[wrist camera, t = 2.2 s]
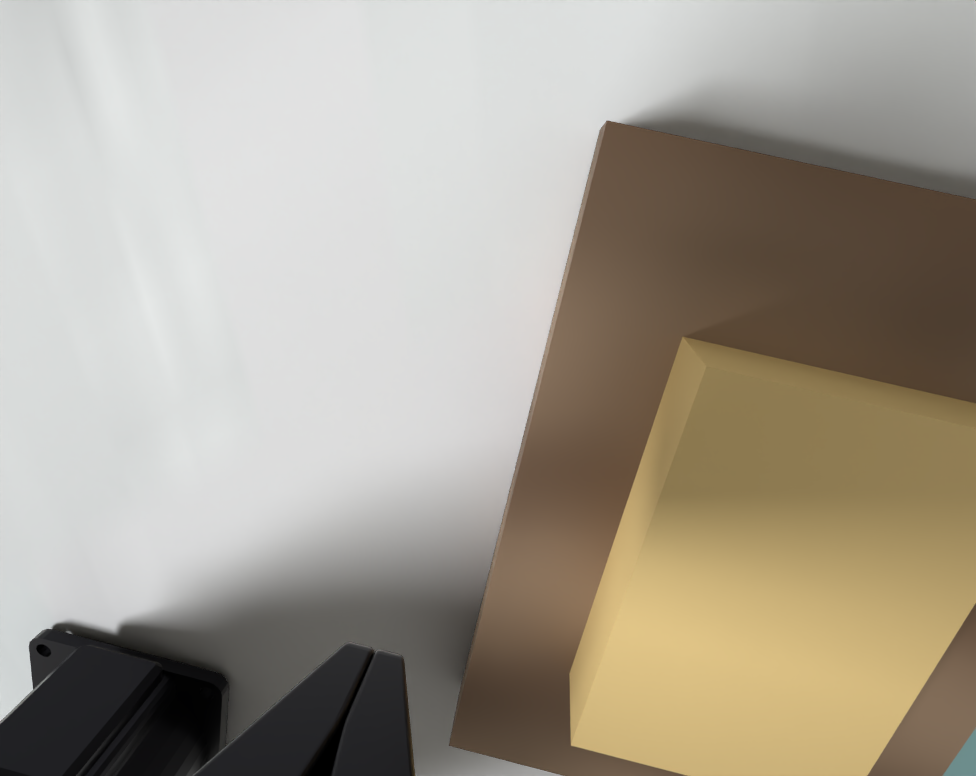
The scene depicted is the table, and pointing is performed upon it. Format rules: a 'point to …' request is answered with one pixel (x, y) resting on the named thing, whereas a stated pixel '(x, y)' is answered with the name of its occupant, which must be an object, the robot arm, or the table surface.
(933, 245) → the brown slab
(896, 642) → the tile
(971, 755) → the mat
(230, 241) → the table surface
